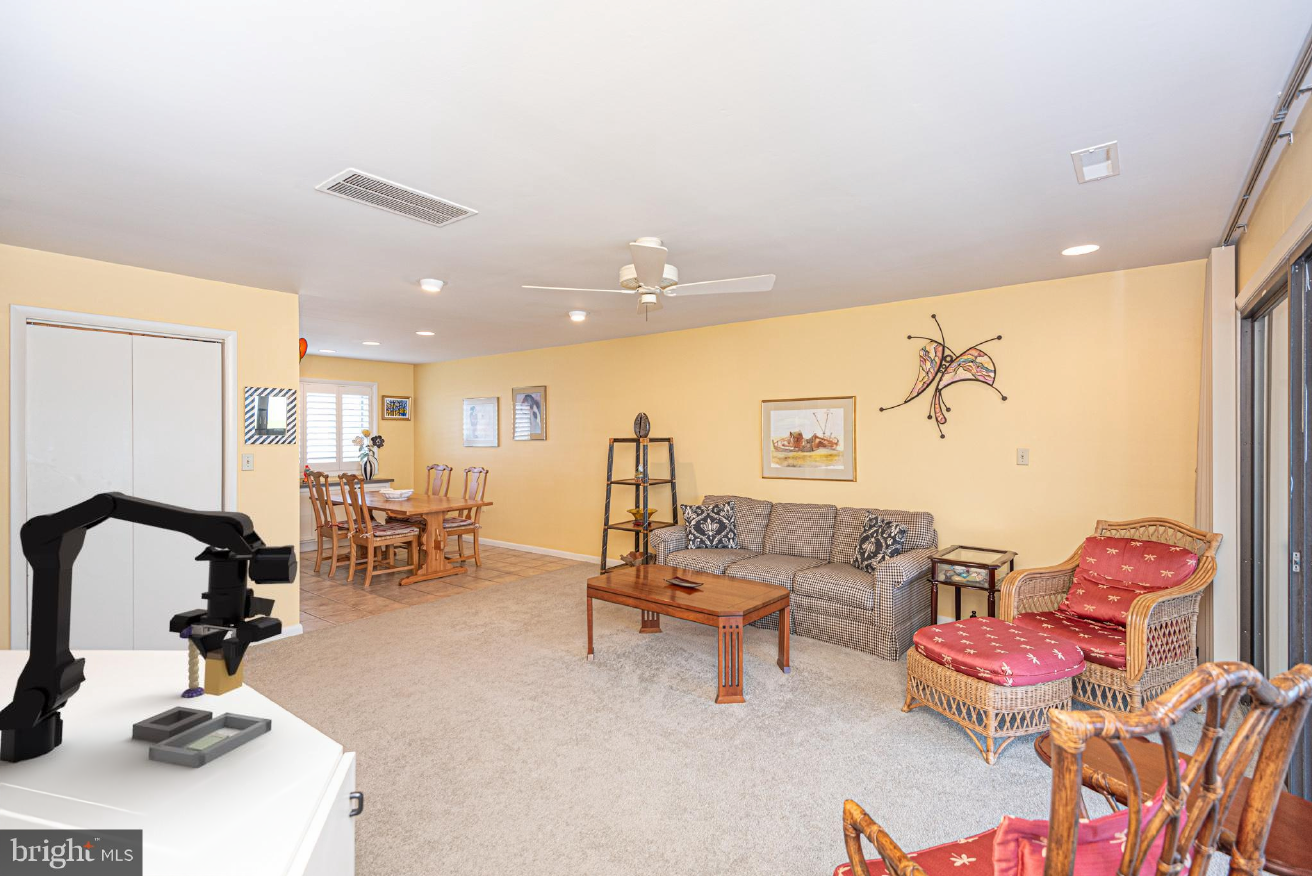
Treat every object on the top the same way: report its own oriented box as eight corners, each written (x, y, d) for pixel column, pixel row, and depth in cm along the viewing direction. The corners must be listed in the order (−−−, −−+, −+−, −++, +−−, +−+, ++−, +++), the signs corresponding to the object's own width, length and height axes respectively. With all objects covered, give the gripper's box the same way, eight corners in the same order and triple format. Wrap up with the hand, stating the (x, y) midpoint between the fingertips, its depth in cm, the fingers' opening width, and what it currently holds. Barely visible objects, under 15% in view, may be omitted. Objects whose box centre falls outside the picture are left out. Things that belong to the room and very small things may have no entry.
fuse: (201, 762, 102) (201, 749, 102) (186, 759, 102) (186, 746, 102) (229, 747, 107) (229, 735, 107) (214, 745, 107) (215, 732, 107)
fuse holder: (168, 748, 107) (169, 730, 107) (132, 741, 108) (132, 724, 108) (211, 728, 114) (212, 711, 114) (177, 722, 116) (177, 706, 116)
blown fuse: (218, 695, 108) (220, 654, 108) (203, 693, 108) (205, 652, 108) (242, 686, 112) (243, 646, 112) (227, 684, 113) (229, 645, 113)
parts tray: (197, 772, 99) (198, 756, 100) (148, 762, 102) (149, 747, 102) (271, 733, 113) (271, 719, 113) (225, 726, 115) (226, 712, 115)
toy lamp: (181, 704, 124) (184, 619, 124) (173, 698, 127) (176, 615, 127) (209, 697, 128) (212, 615, 128) (201, 691, 131) (204, 610, 131)
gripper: (307, 580, 116) (304, 665, 116) (226, 572, 120) (222, 653, 120) (256, 593, 105) (252, 687, 105) (168, 584, 110) (164, 673, 109)
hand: (223, 674), depth 110 cm, fingers closed on blown fuse, 3 cm apart
